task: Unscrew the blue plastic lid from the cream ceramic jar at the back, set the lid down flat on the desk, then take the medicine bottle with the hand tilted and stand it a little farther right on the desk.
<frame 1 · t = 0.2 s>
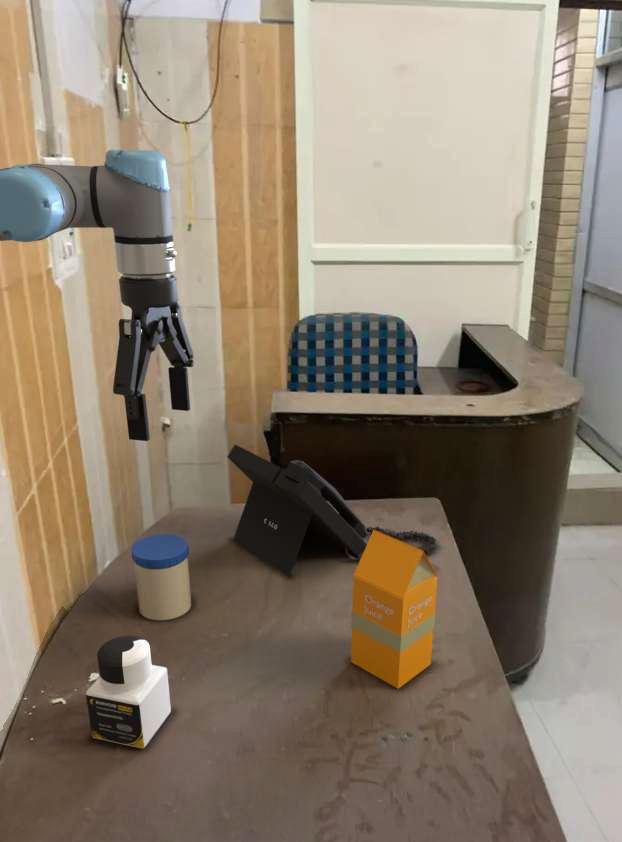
hand: (161, 423, 111), 29 cm above the table, tool pointing down, fingers open, 13 cm apart
jar lid: (160, 548, 116), point 10 cm above the table, screwed on, not yet turned
medicine bottle: (132, 726, 96), on the table
jar: (165, 606, 120), on the table
office phone: (335, 543, 142), on the table
orange juice: (390, 663, 109), on the table
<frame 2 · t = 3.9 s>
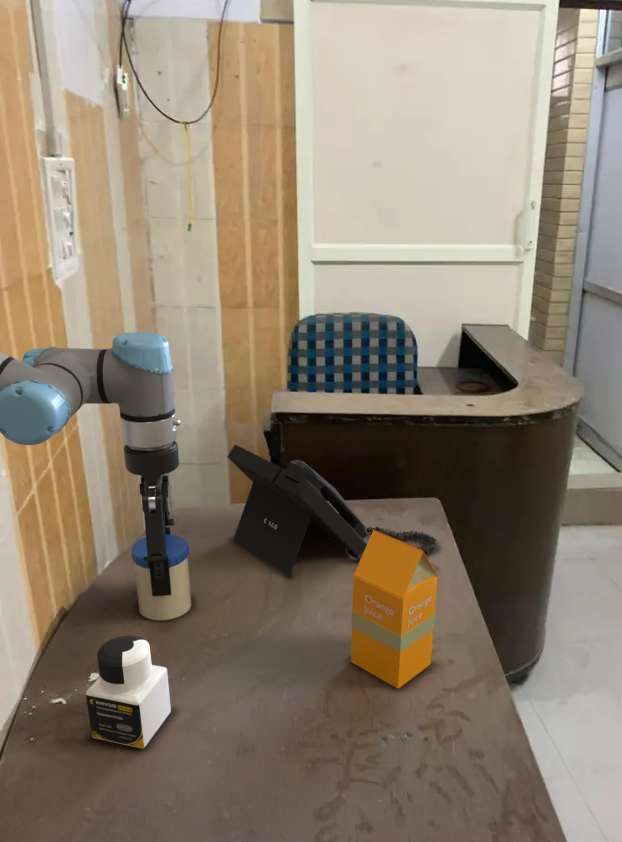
hand: (163, 579, 118), 5 cm above the table, tool pointing down, fingers closed on jar lid, 8 cm apart
jar lid: (160, 548, 116), point 10 cm above the table, screwed on, not yet turned, touching gripper
everything else where it was.
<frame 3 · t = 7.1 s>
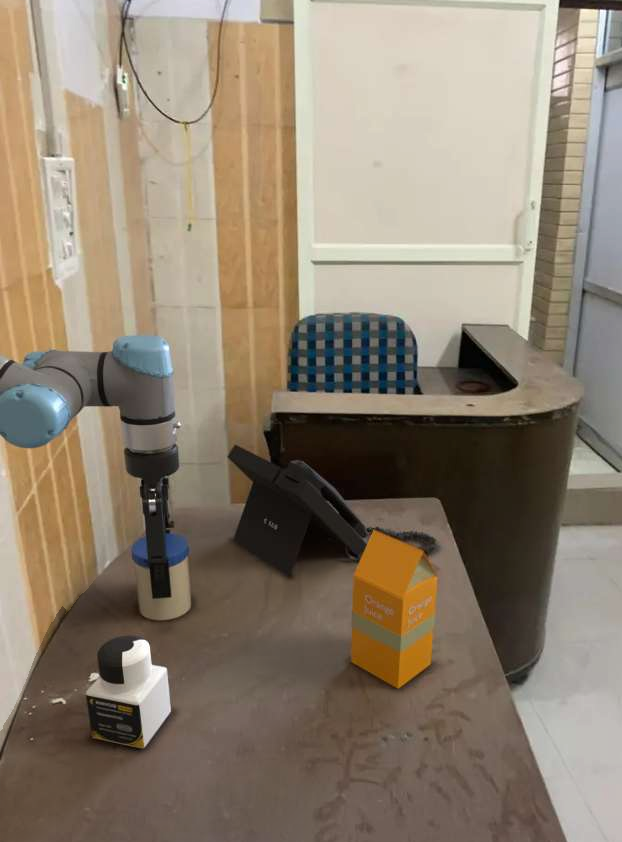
hand: (163, 581, 118), 5 cm above the table, tool pointing down, fingers closed on jar lid, 8 cm apart
jar lid: (160, 548, 116), point 10 cm above the table, turned 112° so far, risen 0.1 cm, still on its thread, touching gripper
everything else where it was.
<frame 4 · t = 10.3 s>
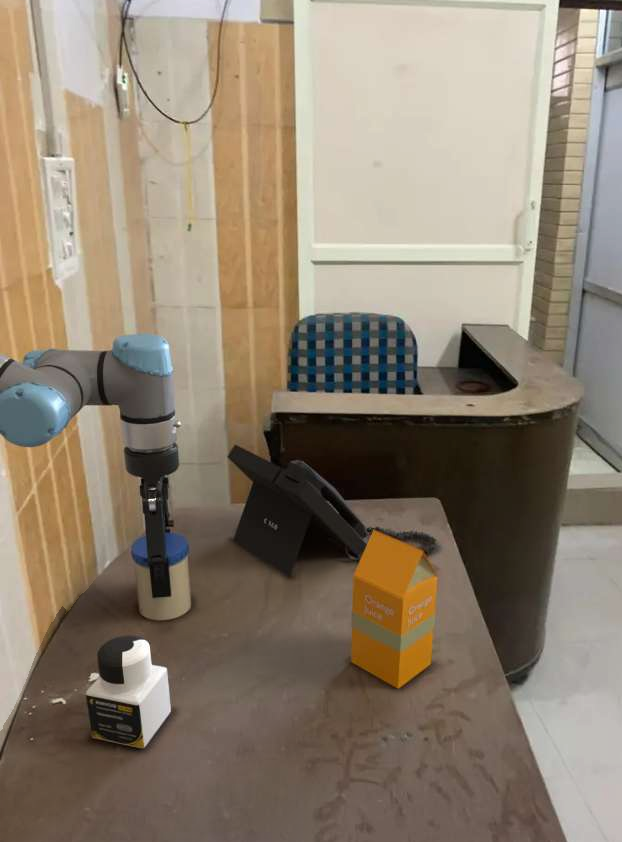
hand: (163, 580, 118), 5 cm above the table, tool pointing down, fingers closed on jar lid, 8 cm apart
jar lid: (160, 547, 116), point 11 cm above the table, turned 224° so far, risen 0.3 cm, still on its thread, touching gripper
everything else where it was.
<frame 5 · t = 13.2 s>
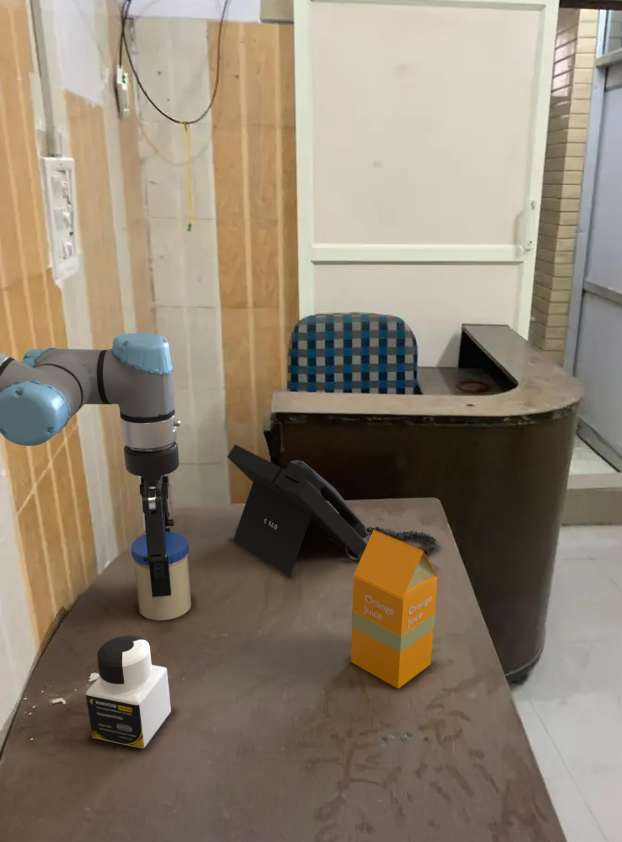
hand: (163, 579, 118), 5 cm above the table, tool pointing down, fingers closed on jar lid, 8 cm apart
jar lid: (160, 546, 116), point 11 cm above the table, turned 336° so far, risen 0.5 cm, still on its thread, touching gripper
everything else where it was.
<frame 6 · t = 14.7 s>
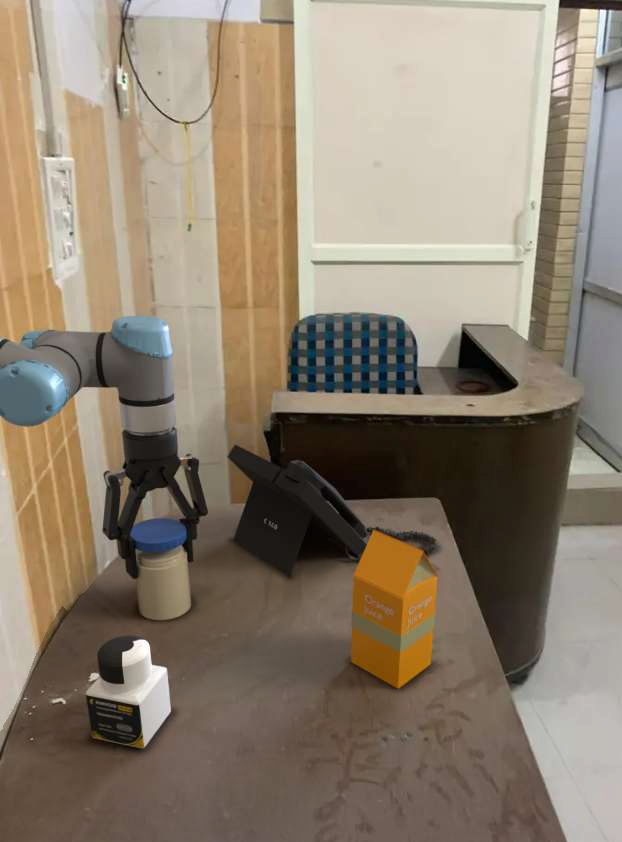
hand: (160, 566, 117), 7 cm above the table, tool pointing down, fingers closed on jar lid, 8 cm apart
jar lid: (157, 532, 115), point 13 cm above the table, off its thread, touching gripper
jar: (165, 606, 120), on the table, touching gripper
everything else where it was.
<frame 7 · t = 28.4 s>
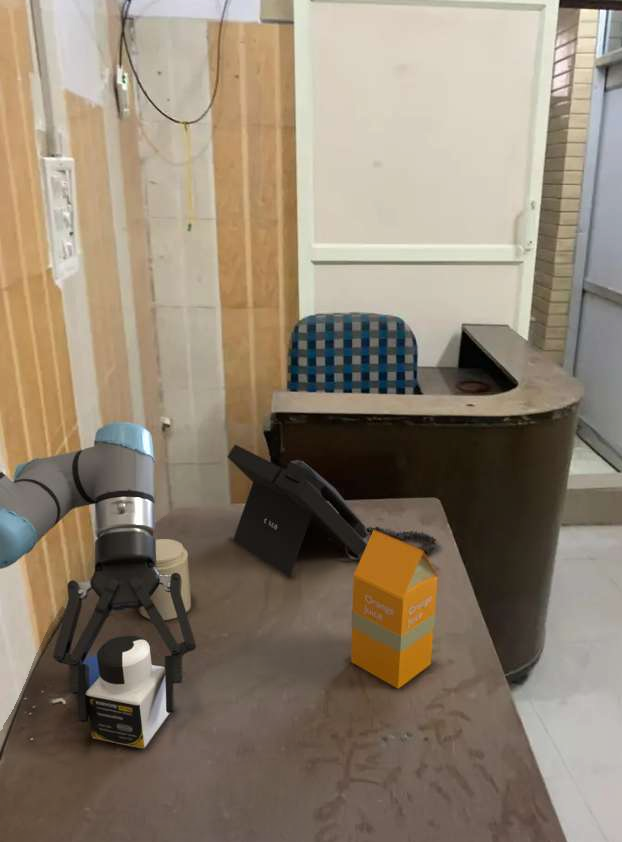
hand: (127, 716, 91), 4 cm above the table, tool tilted 45°, fingers closed on medicine bottle, 9 cm apart
jar lid: (106, 671, 103), point 1 cm above the table, off its thread
medicine bottle: (132, 726, 96), on the table, touching gripper
jar: (165, 606, 120), on the table
everything else where it was.
when the fingers open (4 cm above the table, at t = 35.7 s): medicine bottle stays where it is, on the table.
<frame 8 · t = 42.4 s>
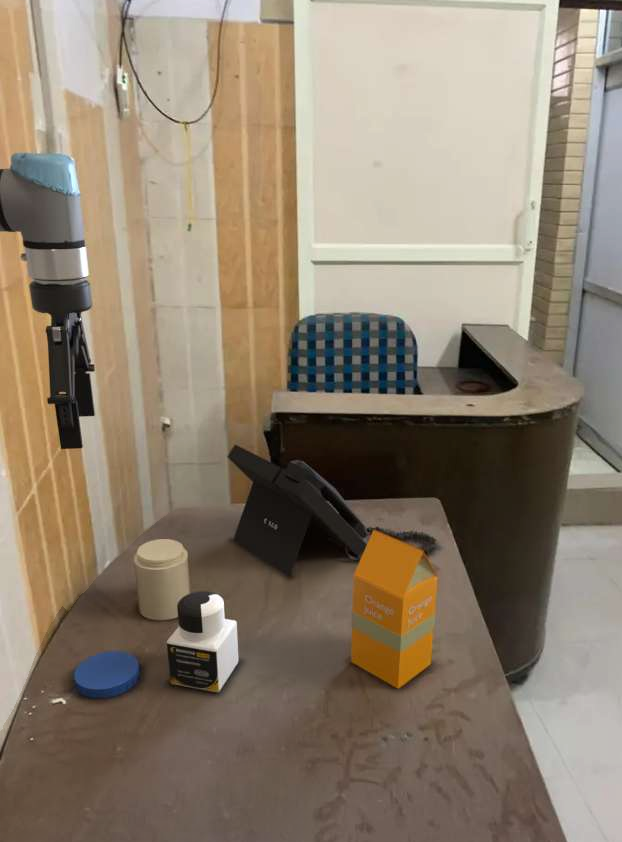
hand: (79, 431, 109), 29 cm above the table, tool pointing down, fingers open, 13 cm apart
medicine bottle: (205, 674, 105), on the table
everything else where it was.
at the end: jar lid came off its thread; jar lid point 1.1 cm above the table; medicine bottle inside the target area (0.0 cm from its centre), on the table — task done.
